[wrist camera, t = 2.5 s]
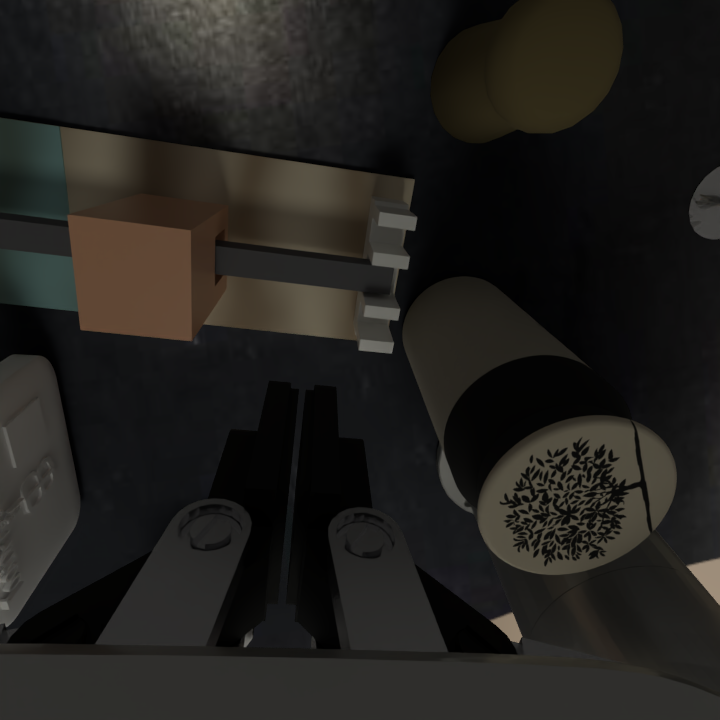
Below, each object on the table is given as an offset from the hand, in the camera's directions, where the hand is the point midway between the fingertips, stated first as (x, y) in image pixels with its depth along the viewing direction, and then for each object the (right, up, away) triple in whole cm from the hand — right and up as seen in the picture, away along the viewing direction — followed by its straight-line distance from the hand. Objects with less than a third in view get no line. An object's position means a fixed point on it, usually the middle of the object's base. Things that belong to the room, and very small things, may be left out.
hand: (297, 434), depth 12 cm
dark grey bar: (-12, +9, +15) cm, 21 cm away
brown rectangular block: (-9, +9, +17) cm, 21 cm away
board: (-12, +10, +17) cm, 23 cm away
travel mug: (+8, +4, +22) cm, 24 cm away
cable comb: (+3, +8, +19) cm, 21 cm away
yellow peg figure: (+9, +18, +15) cm, 25 cm away
